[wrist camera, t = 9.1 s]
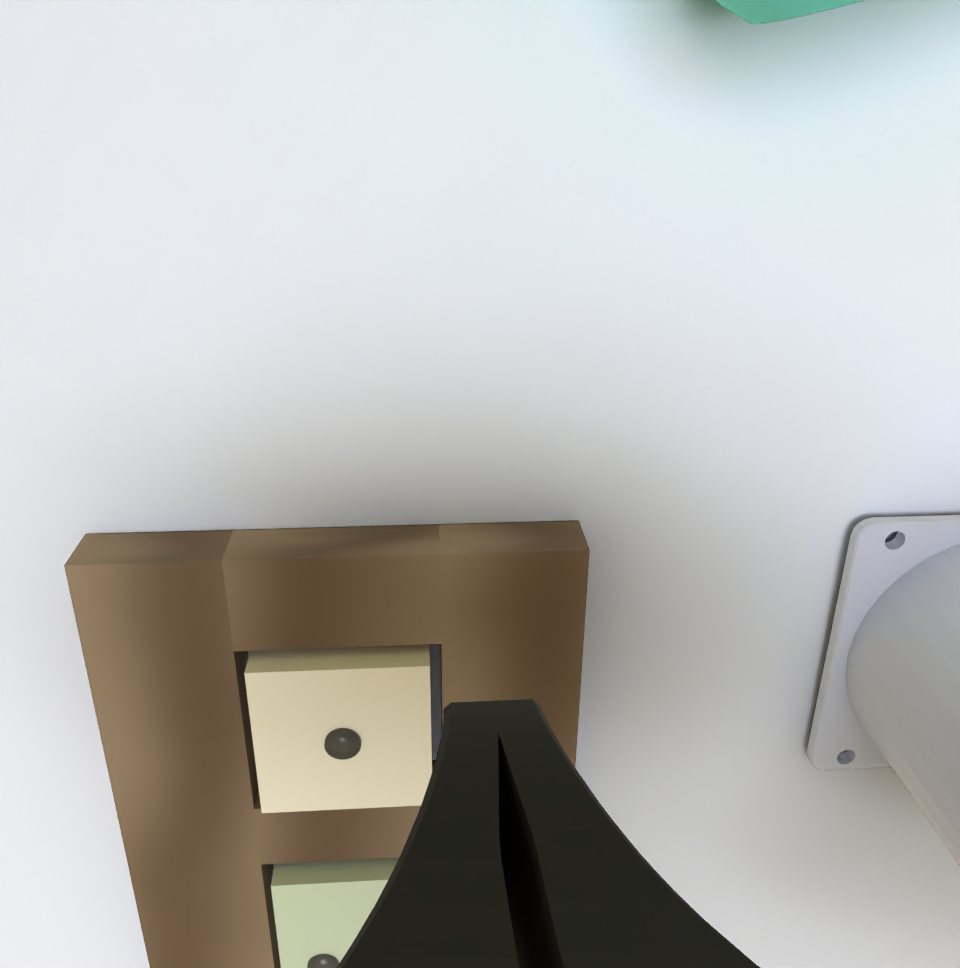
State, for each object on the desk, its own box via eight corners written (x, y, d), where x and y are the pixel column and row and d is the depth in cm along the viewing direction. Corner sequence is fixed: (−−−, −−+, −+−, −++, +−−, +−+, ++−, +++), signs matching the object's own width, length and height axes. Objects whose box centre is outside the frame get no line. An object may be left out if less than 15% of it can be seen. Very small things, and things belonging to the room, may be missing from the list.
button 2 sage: (432, 821, 27) (433, 880, 25) (434, 927, 28) (436, 989, 27) (280, 829, 26) (270, 889, 24) (292, 935, 28) (283, 999, 26)
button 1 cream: (428, 620, 24) (429, 669, 22) (430, 752, 25) (433, 808, 24) (256, 625, 23) (243, 676, 21) (272, 759, 25) (261, 816, 23)
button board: (578, 520, 23) (589, 549, 21) (543, 1112, 33) (549, 1157, 31) (85, 534, 22) (64, 565, 20) (205, 1137, 32) (196, 1184, 31)
